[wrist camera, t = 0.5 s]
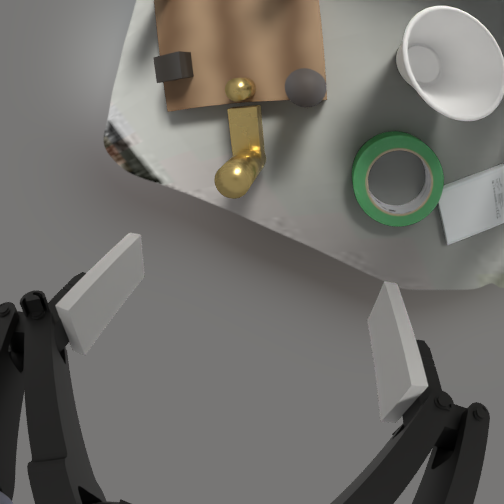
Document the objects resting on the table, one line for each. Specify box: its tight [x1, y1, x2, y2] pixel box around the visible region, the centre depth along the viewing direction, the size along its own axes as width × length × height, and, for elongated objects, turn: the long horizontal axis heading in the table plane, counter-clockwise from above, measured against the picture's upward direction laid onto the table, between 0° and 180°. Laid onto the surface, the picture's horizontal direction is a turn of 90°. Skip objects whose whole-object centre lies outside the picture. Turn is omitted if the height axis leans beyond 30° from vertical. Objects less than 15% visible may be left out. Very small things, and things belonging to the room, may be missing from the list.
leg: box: [215, 78, 266, 199], centre depth 27 cm, size 11×3×8 cm, turn 5°
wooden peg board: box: [154, 0, 327, 112], centre depth 22 cm, size 18×18×10 cm
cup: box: [396, 6, 504, 121], centre depth 19 cm, size 10×10×11 cm
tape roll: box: [352, 131, 444, 226], centre depth 31 cm, size 11×11×3 cm
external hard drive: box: [437, 163, 504, 245], centre depth 30 cm, size 2×8×12 cm
